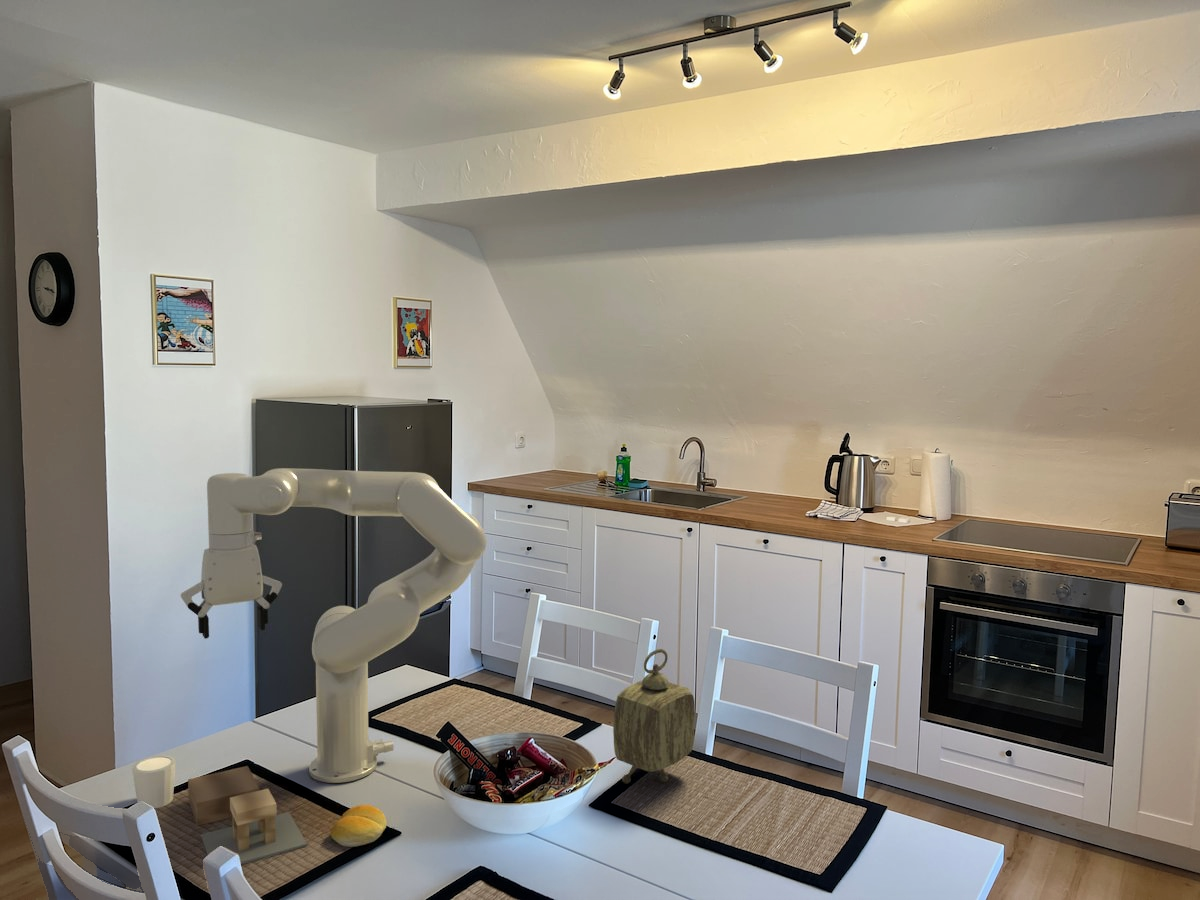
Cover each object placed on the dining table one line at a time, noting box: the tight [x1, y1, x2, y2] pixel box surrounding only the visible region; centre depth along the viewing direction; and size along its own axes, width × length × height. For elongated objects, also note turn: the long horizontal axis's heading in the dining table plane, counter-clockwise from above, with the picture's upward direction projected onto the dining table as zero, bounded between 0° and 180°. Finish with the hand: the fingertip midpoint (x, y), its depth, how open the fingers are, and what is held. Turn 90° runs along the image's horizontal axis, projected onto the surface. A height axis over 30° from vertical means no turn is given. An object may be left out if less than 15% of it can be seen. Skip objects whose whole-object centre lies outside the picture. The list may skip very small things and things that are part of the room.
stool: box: [230, 788, 278, 852], centre depth 141 cm, size 6×6×6 cm
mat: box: [200, 811, 308, 865], centre depth 141 cm, size 14×12×1 cm
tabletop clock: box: [612, 648, 696, 784], centre depth 163 cm, size 14×9×25 cm, turn 139°
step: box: [187, 765, 260, 826], centre depth 152 cm, size 10×10×4 cm
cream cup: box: [131, 755, 176, 809], centre depth 154 cm, size 7×7×7 cm
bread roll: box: [330, 804, 387, 848], centre depth 144 cm, size 8×9×4 cm
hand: (233, 632), depth 160 cm, fingers open, 9 cm apart
